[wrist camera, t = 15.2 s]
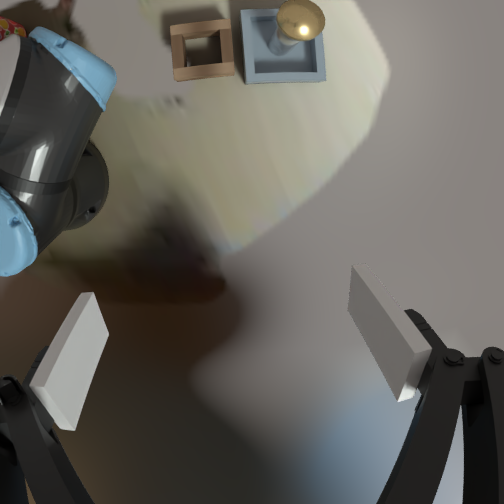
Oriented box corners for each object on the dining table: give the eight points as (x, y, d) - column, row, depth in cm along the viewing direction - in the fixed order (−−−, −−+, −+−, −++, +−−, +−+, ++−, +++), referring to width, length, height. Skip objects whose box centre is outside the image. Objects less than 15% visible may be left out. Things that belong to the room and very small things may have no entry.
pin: (263, 62, 40) (279, 39, 26) (260, 31, 38) (275, -2, 24) (297, 60, 40) (327, 39, 26) (294, 31, 38) (322, -1, 24)
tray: (244, 84, 42) (246, 82, 39) (239, 16, 37) (240, 9, 34) (319, 82, 42) (326, 80, 39) (313, 16, 38) (319, 10, 34)
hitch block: (177, 81, 41) (174, 79, 37) (174, 32, 37) (169, 25, 34) (233, 75, 41) (234, 72, 37) (229, 25, 38) (230, 18, 34)
